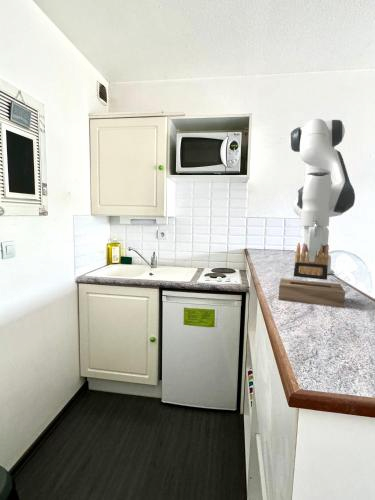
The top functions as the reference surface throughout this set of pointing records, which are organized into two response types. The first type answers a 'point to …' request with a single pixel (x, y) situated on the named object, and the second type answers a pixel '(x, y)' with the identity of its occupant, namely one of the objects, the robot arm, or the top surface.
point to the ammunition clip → (311, 264)
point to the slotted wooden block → (312, 292)
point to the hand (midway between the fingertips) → (311, 261)
